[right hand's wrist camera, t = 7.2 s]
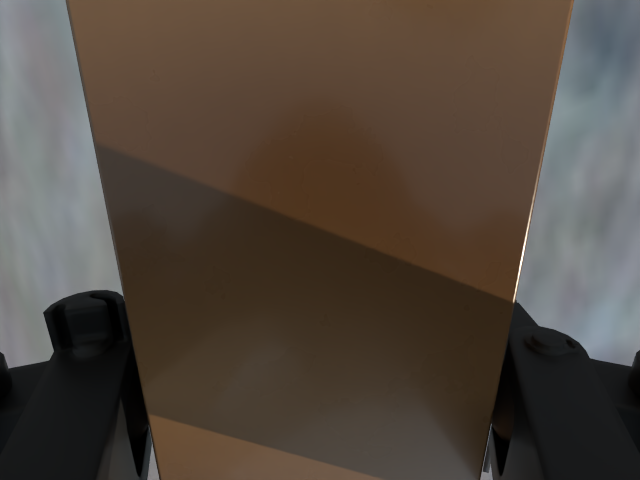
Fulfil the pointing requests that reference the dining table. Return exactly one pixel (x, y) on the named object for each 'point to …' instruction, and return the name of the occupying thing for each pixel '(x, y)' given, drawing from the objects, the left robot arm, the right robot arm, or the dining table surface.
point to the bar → (319, 221)
